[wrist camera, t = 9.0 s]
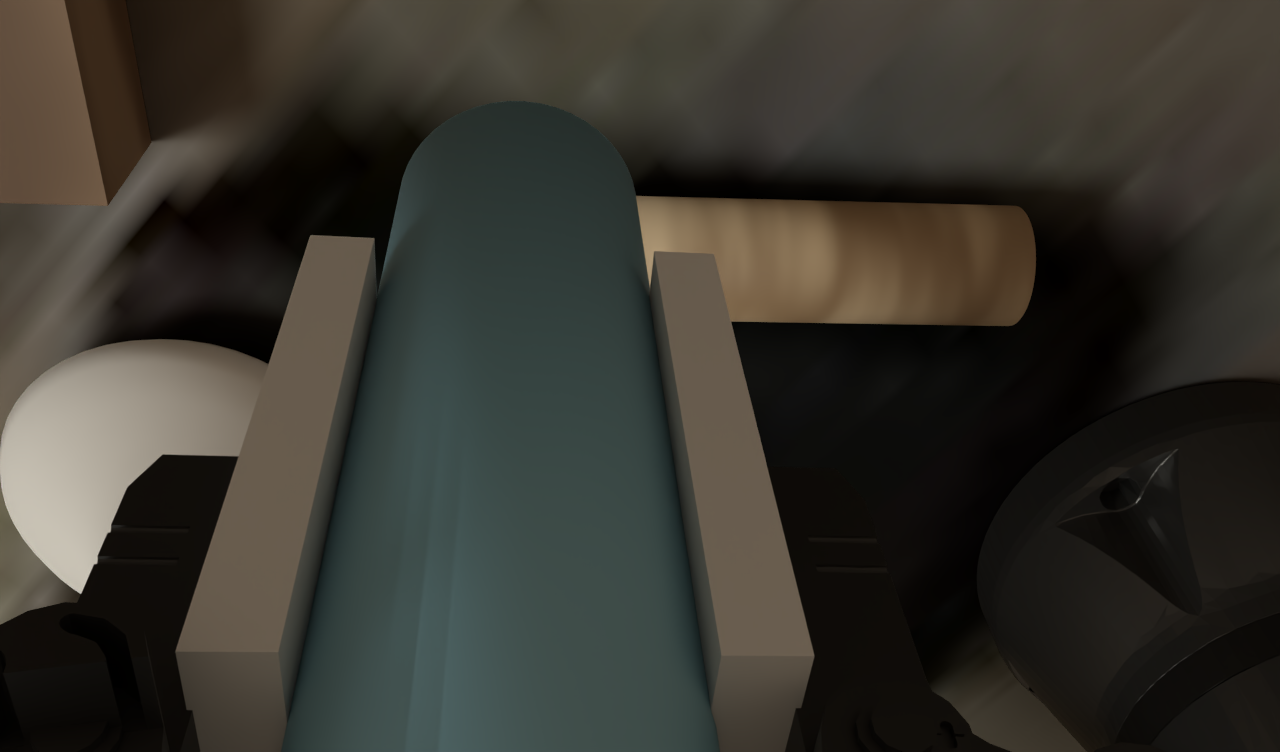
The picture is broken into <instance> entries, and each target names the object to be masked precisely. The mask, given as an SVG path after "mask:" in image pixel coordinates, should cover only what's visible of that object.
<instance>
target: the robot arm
mask: <svg viewBox="0 0 1280 752" xmlns="http://www.w3.org/2000/svg"><path fill="white" fill-rule="evenodd" d="M649 298H650V305H651V312H652V318H653V325H654V332H655V339H656V345H657V352H658V359H659V365H660V372H661V379H662V385H663V392H664V399H665V405H666V412H667V419H668V425H669V432H670V439H671V446H672V452H673V459H674V466H675V472H676V479H677V486H678V492H679V499H680V506H681V512H682V519H683V526H684V533H685V539H686V546H687V553H688V559H689V566H690V573H691V579H692V586H693V593H694V599H695V606H696V613H697V619H698V626H699V633H700V639H701V646H702V653H703V660H704V666H705V673H706V680H707V686H708V693H709V700H710V706H711V711H712V715H713V718H714V721H715V725H716V728H717V735H718V741H719V748H720V752H1010V751H1008V750H1005V749H1002V748H1000V747H997V746H994V745H992V744H990V743H988V742H986V741H984V740H983V739H981V738H979V737H978V736H976V735H974V734H972V731H971V728H970V726H969V724H968V723H967V722H966V720H965V719H964V718H963V717H962V716H961V715H960V714H959V712H958V711H957V710H956V709H955V708H954V707H953V706H952V705H951V703H950V702H949V701H947V700H945V699H944V698H942V697H940V696H939V695H937V694H936V693H934V692H932V690H931V688H930V686H929V684H928V682H927V680H926V677H925V674H924V671H923V668H922V665H921V662H920V659H919V657H918V654H917V651H916V648H915V645H914V642H913V639H912V636H911V633H910V630H909V627H908V625H907V622H906V619H905V616H904V613H903V610H902V607H901V604H900V601H899V598H898V595H897V593H896V590H895V587H894V584H893V581H892V578H891V575H890V573H887V563H886V560H885V558H884V555H883V552H882V549H881V546H880V543H877V534H876V531H875V528H874V526H873V523H872V520H871V517H870V514H869V511H868V508H867V505H866V502H865V500H864V499H863V498H862V497H861V496H860V495H859V493H858V492H857V491H856V490H855V489H854V488H853V487H852V486H851V485H850V484H849V483H848V481H847V480H846V479H845V478H844V477H843V476H842V475H841V474H840V473H839V472H838V471H837V470H836V468H797V467H767V464H766V460H765V456H764V452H763V448H762V444H761V440H760V436H759V432H758V428H757V424H756V420H755V416H754V412H753V408H752V404H751V400H750V396H749V392H748V388H747V384H746V380H745V376H744V372H743V368H742V364H741V360H740V356H739V352H738V348H737V344H736V340H735V336H734V332H733V328H732V324H731V320H730V316H729V312H728V308H727V304H726V300H725V296H724V292H723V288H722V284H721V280H720V276H719V272H718V268H717V264H716V260H715V256H714V254H705V253H684V252H662V251H654V257H653V266H652V275H651V284H650V292H649ZM376 301H377V293H376V269H375V245H374V238H358V237H336V236H314V235H310V238H309V241H308V245H307V248H306V251H305V254H304V257H303V260H302V263H301V266H300V269H299V272H298V275H297V278H296V281H295V285H294V288H293V291H292V294H291V297H290V300H289V303H288V306H287V309H286V312H285V315H284V318H283V321H282V325H281V328H280V331H279V334H278V337H277V340H276V343H275V346H274V349H273V352H272V355H271V358H270V361H269V365H268V368H267V371H266V374H265V377H264V380H263V383H262V386H261V389H260V392H259V395H258V398H257V401H256V405H255V408H254V411H253V414H252V417H251V420H250V423H249V426H248V429H247V432H246V435H245V438H244V441H243V445H242V448H241V451H240V454H239V456H207V455H167V454H163V455H162V456H160V457H159V458H158V459H157V460H156V461H155V462H154V463H153V464H152V465H151V466H150V467H148V468H147V469H146V470H145V471H144V472H143V473H142V474H141V475H140V476H139V477H138V478H137V479H135V480H134V481H133V482H132V483H131V484H130V485H129V486H128V487H127V489H126V491H125V493H124V496H123V498H122V500H121V503H120V505H119V507H118V510H117V512H116V514H115V517H114V519H113V521H112V524H111V532H110V533H107V535H106V537H105V540H104V542H103V544H102V547H101V549H100V551H99V554H98V556H97V557H98V561H97V564H94V565H93V568H92V570H91V572H90V574H89V577H88V579H87V581H86V584H85V586H84V588H83V591H82V593H81V595H80V598H79V600H78V602H77V603H67V602H65V603H60V604H56V605H52V606H47V607H43V608H39V609H34V610H30V611H27V612H25V613H23V614H21V615H19V616H17V617H15V618H13V619H11V620H9V621H7V622H5V623H3V624H1V625H0V752H281V749H282V744H283V740H284V735H285V730H286V725H287V722H288V717H289V712H290V708H291V703H292V698H293V693H294V689H295V684H296V679H297V674H298V670H299V665H300V660H301V656H302V651H303V646H304V641H305V637H306V632H307V627H308V622H309V618H310V613H311V608H312V604H313V599H314V594H315V589H316V585H317V580H318V575H319V570H320V566H321V561H322V556H323V551H324V547H325V542H326V537H327V533H328V528H329V523H330V518H331V514H332V509H333V504H334V499H335V495H336V490H337V485H338V480H339V476H340V471H341V466H342V462H343V457H344V452H345V447H346V443H347V438H348V433H349V428H350V424H351V419H352V414H353V410H354V405H355V400H356V395H357V391H358V386H359V381H360V377H361V372H362V367H363V362H364V358H365V353H366V348H367V344H368V339H369V334H370V329H371V325H372V320H373V315H374V311H375V306H376ZM977 592H978V598H979V602H980V606H981V609H982V612H983V614H984V617H985V619H986V621H987V624H988V626H989V628H990V631H991V633H992V636H993V638H994V640H995V643H996V645H997V647H998V650H999V652H1000V654H1001V656H1002V658H1003V660H1004V661H1005V663H1006V665H1007V666H1008V668H1009V669H1010V671H1011V672H1012V673H1013V675H1014V676H1015V677H1016V678H1017V680H1018V681H1019V682H1020V683H1021V684H1022V685H1023V686H1024V687H1025V688H1026V689H1027V690H1028V691H1030V692H1031V693H1032V694H1033V695H1034V696H1035V697H1037V698H1038V699H1039V700H1040V701H1041V702H1042V703H1044V705H1045V706H1046V707H1047V708H1048V709H1049V710H1050V711H1051V712H1052V714H1053V715H1054V716H1055V717H1056V718H1057V719H1058V720H1059V722H1060V723H1061V724H1062V725H1063V726H1064V727H1065V728H1066V729H1067V730H1068V731H1069V733H1070V734H1071V735H1072V736H1073V737H1074V738H1075V739H1076V740H1077V741H1078V742H1079V743H1080V745H1081V746H1082V747H1083V748H1084V749H1085V750H1086V751H1087V752H1280V385H1278V384H1270V383H1261V382H1225V383H1213V384H1206V385H1198V386H1193V387H1188V388H1183V389H1178V390H1175V391H1171V392H1167V393H1163V394H1160V395H1157V396H1154V397H1150V398H1147V399H1145V400H1142V401H1139V402H1137V403H1134V404H1131V405H1129V406H1127V407H1124V408H1122V409H1120V410H1117V411H1115V412H1113V413H1111V414H1109V415H1107V416H1105V417H1103V418H1101V419H1099V420H1097V421H1096V422H1094V423H1092V424H1090V425H1089V426H1087V427H1085V428H1084V429H1082V430H1080V431H1079V432H1077V433H1076V434H1074V435H1073V436H1071V437H1070V438H1068V439H1067V440H1065V441H1064V442H1063V443H1061V444H1060V445H1059V446H1057V447H1056V448H1055V449H1053V450H1052V451H1051V452H1050V453H1049V454H1047V455H1046V456H1045V457H1044V458H1043V459H1042V460H1040V461H1039V462H1038V463H1037V464H1036V465H1035V466H1034V467H1033V468H1032V469H1031V470H1030V471H1029V472H1028V473H1027V474H1026V475H1025V476H1024V477H1023V478H1022V479H1021V480H1020V482H1019V483H1018V484H1017V485H1016V486H1015V487H1014V489H1013V490H1012V491H1011V492H1010V494H1009V495H1008V496H1007V498H1006V499H1005V500H1004V502H1003V504H1002V505H1001V507H1000V508H999V510H998V511H997V513H996V515H995V517H994V519H993V520H992V522H991V524H990V526H989V529H988V531H987V533H986V535H985V538H984V541H983V544H982V547H981V551H980V555H979V560H978V566H977Z"/></svg>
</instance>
